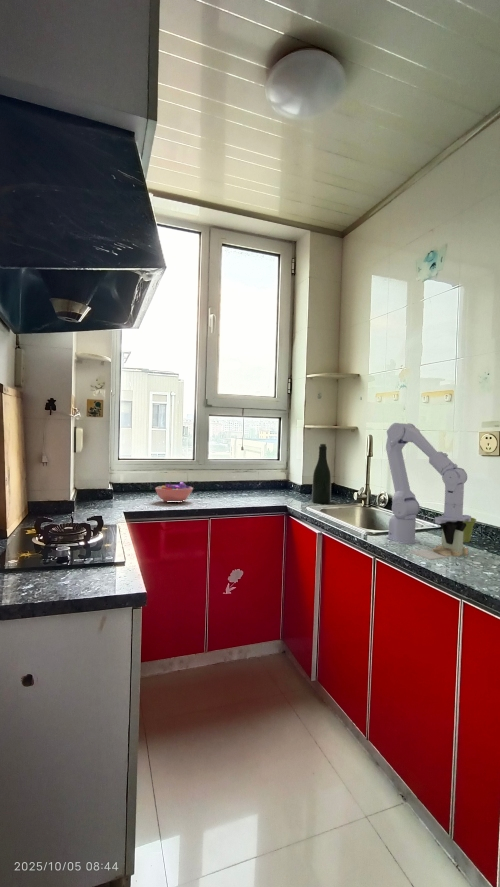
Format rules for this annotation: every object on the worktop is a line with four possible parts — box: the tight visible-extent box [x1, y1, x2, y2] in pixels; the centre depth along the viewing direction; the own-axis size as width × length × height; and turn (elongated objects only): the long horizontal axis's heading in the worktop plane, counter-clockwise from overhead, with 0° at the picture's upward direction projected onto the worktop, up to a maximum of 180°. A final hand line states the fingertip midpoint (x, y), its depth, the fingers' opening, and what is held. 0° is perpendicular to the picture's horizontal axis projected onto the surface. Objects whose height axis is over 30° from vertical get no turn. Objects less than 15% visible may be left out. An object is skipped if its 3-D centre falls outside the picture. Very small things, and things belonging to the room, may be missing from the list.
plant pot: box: [463, 516, 477, 543], centre depth 161 cm, size 9×9×9 cm
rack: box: [435, 544, 469, 557], centre depth 145 cm, size 9×5×2 cm, turn 22°
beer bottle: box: [311, 443, 332, 505], centre depth 238 cm, size 10×10×33 cm
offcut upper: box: [432, 547, 451, 556], centre depth 143 cm, size 5×3×1 cm, turn 20°
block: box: [441, 529, 464, 556], centre depth 145 cm, size 7×2×8 cm, turn 22°
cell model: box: [154, 481, 194, 502], centre depth 227 cm, size 17×20×11 cm
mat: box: [408, 548, 447, 561], centre depth 141 cm, size 9×7×1 cm
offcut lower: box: [430, 550, 453, 557], centre depth 143 cm, size 6×4×1 cm, turn 22°
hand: (452, 543), depth 145 cm, fingers closed on block, 2 cm apart
